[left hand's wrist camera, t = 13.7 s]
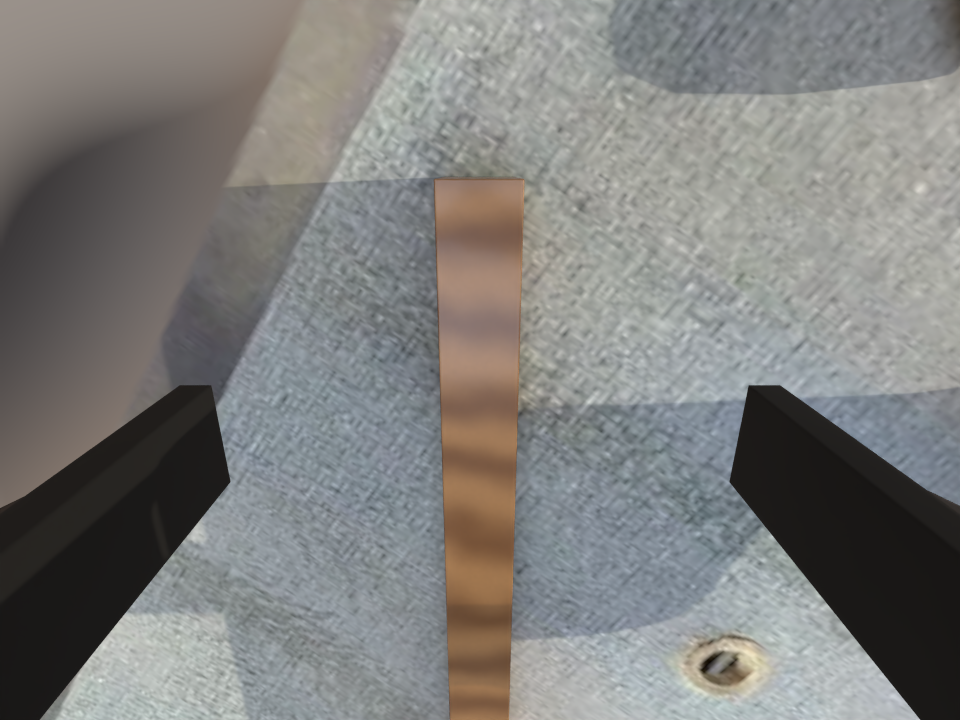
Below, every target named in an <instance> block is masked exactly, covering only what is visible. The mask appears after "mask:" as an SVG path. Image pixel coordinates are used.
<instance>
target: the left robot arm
mask: <svg viewBox="0 0 960 720" xmlns="http://www.w3.org/2000/svg"><path fill="white" fill-rule="evenodd" d="M229 483H230V477H229V472H228V467H227V462H226V457H225V452H224V447H223V442H222V437H221V432H220V427H219V422H218V417H217V412H216V407H215V402H214V397H213V392H212V387H211V385H180V386H178V387H177V388H176V389H174V390H173V391H171V392H170V393H169V394H167V395H166V396H164V397H163V398H162V399H160V400H159V401H157V402H156V403H155V404H153V405H152V406H150V407H149V408H148V409H146V410H145V411H143V412H142V413H141V414H139V415H138V416H136V417H135V418H134V419H132V420H131V421H129V422H128V423H127V424H125V425H124V426H122V427H121V428H120V429H118V430H117V431H115V432H114V433H113V434H111V435H110V436H108V437H107V438H106V439H104V440H103V441H101V442H100V443H99V444H97V445H96V446H95V447H93V448H92V449H90V450H89V451H87V452H86V453H85V454H83V455H82V456H80V457H79V458H78V459H76V460H75V461H74V462H72V463H71V464H69V465H68V466H67V467H65V468H64V469H62V470H61V471H60V472H58V473H57V474H55V475H54V476H53V477H51V478H50V479H48V480H47V481H45V482H44V483H43V484H41V485H40V486H39V487H37V488H36V489H34V490H33V491H32V492H30V493H29V494H27V495H26V496H25V497H22V498H20V499H18V500H16V501H14V502H12V503H10V504H8V505H6V506H4V507H2V508H0V720H40V719H41V717H42V716H43V715H44V714H45V712H46V711H47V710H48V709H49V707H50V706H51V705H52V704H53V702H54V701H55V700H56V699H57V697H58V696H59V695H60V694H61V693H62V691H63V690H64V689H65V688H66V686H67V685H68V684H69V683H70V681H71V680H72V679H73V678H74V676H75V675H76V674H77V673H78V671H79V670H80V669H81V668H82V666H83V665H84V664H85V663H86V661H87V660H88V659H89V658H90V656H91V655H92V654H93V653H94V651H95V650H96V649H97V648H98V646H99V645H100V644H101V643H102V641H103V640H104V639H105V638H106V636H107V635H108V634H109V633H110V631H111V630H112V629H113V628H114V626H115V625H116V624H117V623H118V621H119V620H120V619H121V618H122V616H123V615H124V614H125V613H126V611H127V610H128V609H129V608H130V607H131V605H132V604H133V603H134V602H135V600H136V599H137V598H138V597H139V595H140V594H141V593H142V592H143V590H144V589H145V588H146V587H147V585H148V584H149V583H150V582H151V580H152V579H153V578H154V577H155V575H156V574H157V573H158V572H159V570H160V569H161V568H162V567H163V565H164V564H165V563H166V562H167V560H168V559H169V558H170V557H171V555H172V554H173V553H174V552H175V550H176V549H177V548H178V547H179V545H180V544H181V543H182V542H183V540H184V539H185V538H186V537H187V535H188V534H189V533H190V532H191V530H192V529H193V528H194V527H195V525H196V524H197V523H198V522H199V521H200V519H201V518H202V517H203V516H204V514H205V513H206V512H207V511H208V509H209V508H210V507H211V506H212V504H213V503H214V502H215V501H216V499H217V498H218V497H219V496H220V494H221V493H222V492H223V491H224V489H225V488H226V487H227V486H228V484H229ZM730 483H731V484H732V486H733V487H734V488H735V489H736V491H737V492H738V493H739V494H740V496H741V497H742V498H743V499H744V501H745V502H746V503H747V504H748V506H749V507H750V508H751V509H752V511H753V512H754V513H755V514H756V516H757V517H758V518H759V519H760V521H761V522H762V523H763V524H764V525H765V527H766V528H767V529H768V530H769V532H770V533H771V534H772V535H773V537H774V538H775V539H776V540H777V542H778V543H779V544H780V545H781V547H782V548H783V549H784V550H785V552H786V553H787V554H788V555H789V557H790V558H791V559H792V560H793V562H794V563H795V564H796V565H797V567H798V568H799V569H800V570H801V572H802V573H803V574H804V575H805V577H806V578H807V579H808V580H809V582H810V583H811V584H812V585H813V587H814V588H815V589H816V590H817V592H818V593H819V594H820V595H821V597H822V598H823V599H824V600H825V602H826V603H827V604H828V605H829V607H830V608H831V609H832V610H833V611H834V613H835V614H836V615H837V616H838V618H839V619H840V620H841V621H842V623H843V624H844V625H845V626H846V628H847V629H848V630H849V631H850V633H851V634H852V635H853V636H854V638H855V639H856V640H857V641H858V643H859V644H860V645H861V646H862V648H863V649H864V650H865V651H866V653H867V654H868V655H869V656H870V658H871V659H872V660H873V661H874V663H875V664H876V665H877V666H878V668H879V669H880V670H881V671H882V673H883V674H884V675H885V676H886V678H887V679H888V680H889V681H890V683H891V684H892V685H893V686H894V688H895V689H896V690H897V691H898V693H899V694H900V695H901V696H902V698H903V699H904V700H905V701H906V702H907V704H908V705H909V706H910V707H911V709H912V710H913V711H914V712H915V714H916V715H917V716H918V717H919V719H920V720H960V506H959V505H957V504H955V503H953V502H951V501H949V500H946V499H944V498H942V497H940V496H938V495H936V494H934V493H932V492H930V491H927V490H926V489H924V488H923V487H921V486H920V485H919V484H917V483H916V482H915V481H913V480H912V479H910V478H909V477H908V476H906V475H905V474H903V473H902V472H901V471H899V470H898V469H896V468H895V467H894V466H892V465H891V464H889V463H888V462H887V461H885V460H884V459H882V458H881V457H880V456H878V455H877V454H875V453H874V452H873V451H871V450H870V449H868V448H867V447H866V446H864V445H863V444H861V443H860V442H859V441H857V440H856V439H854V438H853V437H852V436H850V435H849V434H847V433H846V432H845V431H843V430H842V429H840V428H839V427H838V426H836V425H835V424H833V423H832V422H831V421H829V420H828V419H826V418H825V417H824V416H822V415H821V414H819V413H818V412H817V411H815V410H814V409H812V408H811V407H810V406H808V405H807V404H805V403H804V402H803V401H801V400H800V399H798V398H797V397H796V396H794V395H793V394H791V393H790V392H789V391H787V390H786V389H784V388H783V387H782V386H780V385H749V387H748V392H747V397H746V402H745V407H744V412H743V417H742V422H741V427H740V432H739V437H738V442H737V447H736V452H735V457H734V462H733V467H732V472H731V477H730Z"/></svg>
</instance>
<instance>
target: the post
mask: <svg viewBox="0 0 960 720" xmlns="http://www.w3.org/2000/svg"><path fill="white" fill-rule="evenodd" d="M434 202H435V235H436V269H437V302H438V336H439V370H440V403H441V437H442V470H443V504H444V537H445V571H446V604H447V638H448V671H449V705H450V720H509V695H510V661H511V626H512V591H513V557H514V522H515V487H516V453H517V418H518V383H519V349H520V314H521V280H522V245H523V210H524V179H521V178H516V177H442V178H437V179H434Z"/></svg>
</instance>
